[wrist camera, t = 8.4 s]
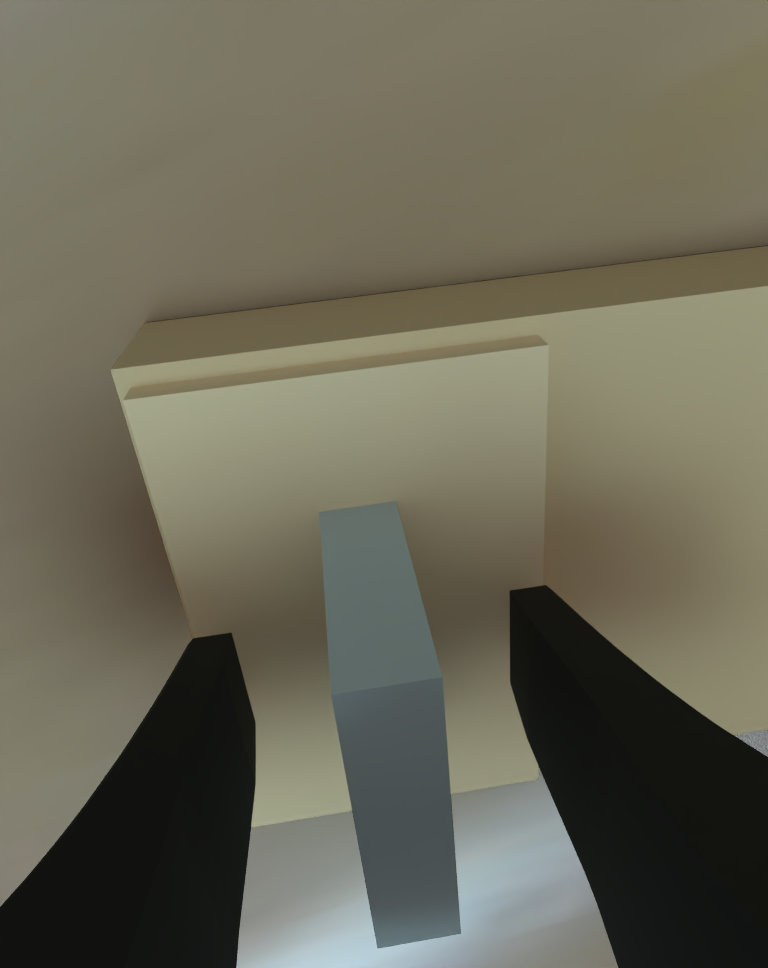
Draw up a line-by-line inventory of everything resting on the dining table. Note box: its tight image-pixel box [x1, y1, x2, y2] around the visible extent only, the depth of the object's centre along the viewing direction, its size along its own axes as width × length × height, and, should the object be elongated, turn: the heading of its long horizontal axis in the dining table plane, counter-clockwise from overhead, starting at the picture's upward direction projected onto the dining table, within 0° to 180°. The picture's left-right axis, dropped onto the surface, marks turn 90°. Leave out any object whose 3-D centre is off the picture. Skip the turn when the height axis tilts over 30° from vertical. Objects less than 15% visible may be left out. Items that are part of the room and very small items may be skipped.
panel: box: [111, 246, 768, 768], centre depth 13 cm, size 10×13×2 cm
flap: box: [123, 335, 549, 948], centre depth 10 cm, size 9×6×4 cm, turn 5°
